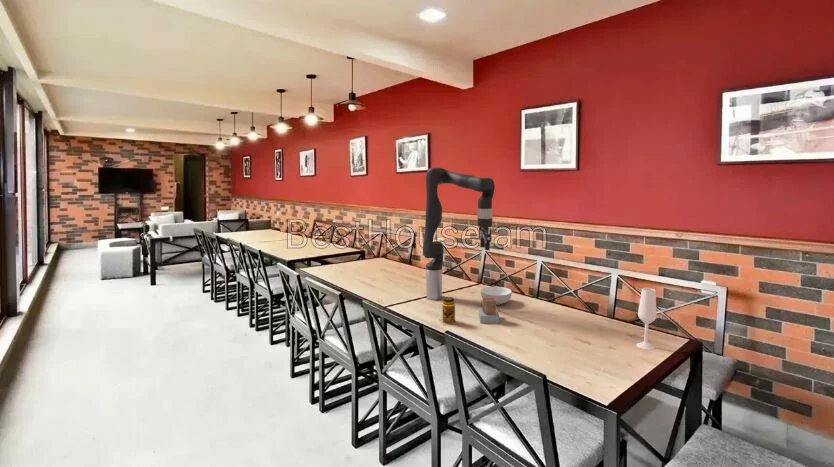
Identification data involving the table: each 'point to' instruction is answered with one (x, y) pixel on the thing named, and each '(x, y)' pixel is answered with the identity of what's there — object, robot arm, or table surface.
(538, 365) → the table surface
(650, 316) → the champagne flute
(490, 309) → the walnut block
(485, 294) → the cereal bowl
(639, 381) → the table surface
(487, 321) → the slate base
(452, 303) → the condiment
